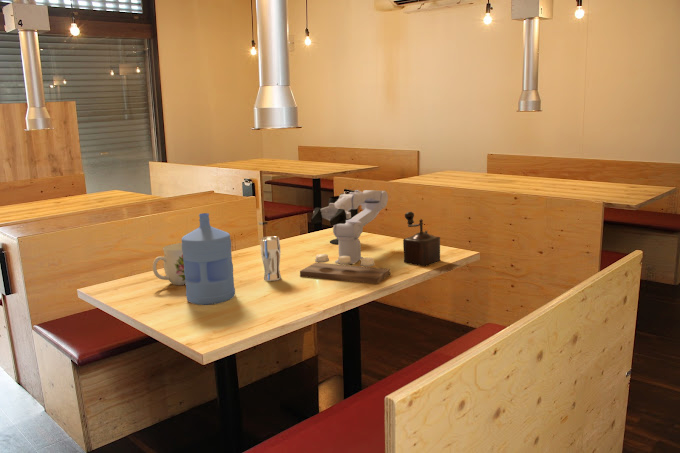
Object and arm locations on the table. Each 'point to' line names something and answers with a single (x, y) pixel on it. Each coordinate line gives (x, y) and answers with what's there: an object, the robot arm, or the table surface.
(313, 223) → the robot arm
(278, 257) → the beer glass
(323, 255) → the knob
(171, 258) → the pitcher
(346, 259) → the knob
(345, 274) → the wooden board with recesses
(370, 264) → the knob
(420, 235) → the manual coffee grinder
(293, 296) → the table surface
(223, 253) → the water jug
